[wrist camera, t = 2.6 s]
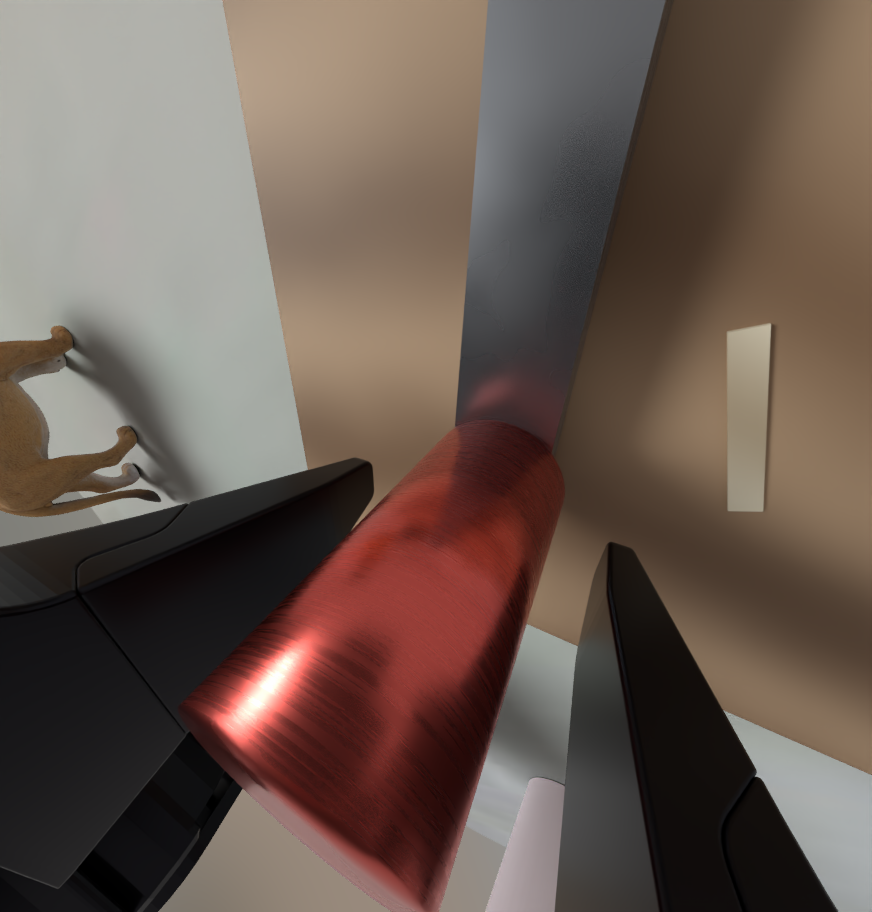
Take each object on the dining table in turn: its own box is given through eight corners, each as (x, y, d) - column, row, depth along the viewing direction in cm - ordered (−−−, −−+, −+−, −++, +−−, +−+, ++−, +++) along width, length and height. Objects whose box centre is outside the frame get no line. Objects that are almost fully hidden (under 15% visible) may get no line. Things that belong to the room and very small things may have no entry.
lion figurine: (2, 296, 22) (-292, 327, 15) (17, 255, 19) (-344, 269, 12) (155, 499, 26) (-17, 594, 20) (186, 492, 23) (-4, 600, 17)
